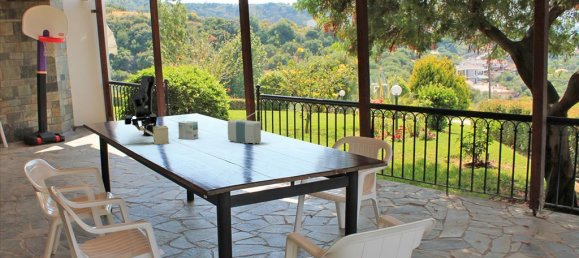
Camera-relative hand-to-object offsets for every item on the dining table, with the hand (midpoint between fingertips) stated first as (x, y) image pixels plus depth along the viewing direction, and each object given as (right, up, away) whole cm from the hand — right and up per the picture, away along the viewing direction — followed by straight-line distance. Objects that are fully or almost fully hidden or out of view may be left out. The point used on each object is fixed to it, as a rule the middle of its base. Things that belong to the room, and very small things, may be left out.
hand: (142, 130), depth 329 cm
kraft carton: (+9, -8, +9) cm, 15 cm away
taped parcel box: (+60, -8, +9) cm, 61 cm away
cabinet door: (+5, -3, +7) cm, 9 cm away
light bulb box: (+23, -5, +24) cm, 34 cm away
